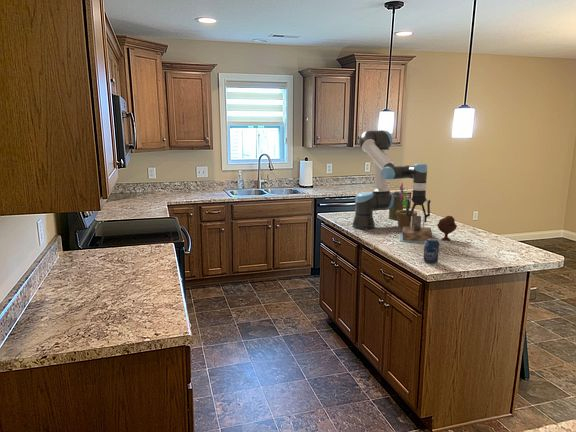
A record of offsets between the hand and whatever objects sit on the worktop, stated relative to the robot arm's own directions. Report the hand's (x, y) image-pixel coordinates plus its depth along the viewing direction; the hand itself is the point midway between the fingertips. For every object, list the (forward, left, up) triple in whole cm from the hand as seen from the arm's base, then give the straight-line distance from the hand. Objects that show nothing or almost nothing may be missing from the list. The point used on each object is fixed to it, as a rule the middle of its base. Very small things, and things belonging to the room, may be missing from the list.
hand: (417, 227), depth 263 cm
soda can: (+5, -48, -7) cm, 49 cm away
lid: (0, 0, -6) cm, 6 cm away
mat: (0, 0, -7) cm, 7 cm away
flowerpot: (-6, +31, -7) cm, 32 cm away
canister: (-13, +57, -7) cm, 59 cm away
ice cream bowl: (+17, 0, -7) cm, 18 cm away
